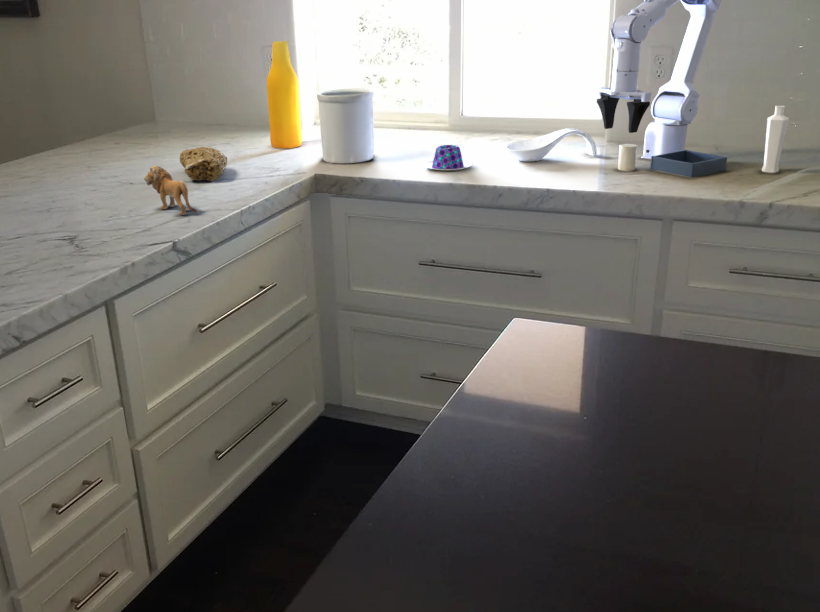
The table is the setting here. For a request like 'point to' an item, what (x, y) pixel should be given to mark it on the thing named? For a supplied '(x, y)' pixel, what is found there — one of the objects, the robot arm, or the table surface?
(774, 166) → the perfume bottle
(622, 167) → the cream cylinder
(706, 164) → the bin
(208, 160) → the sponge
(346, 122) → the utensil holder
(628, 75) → the robot arm
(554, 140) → the spoon rest
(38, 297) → the table surface
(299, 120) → the beer bottle
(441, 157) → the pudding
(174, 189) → the lion figurine
